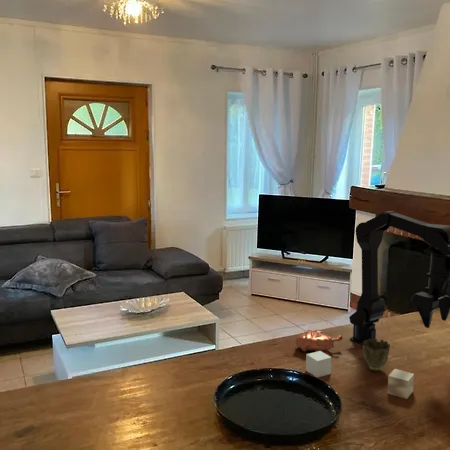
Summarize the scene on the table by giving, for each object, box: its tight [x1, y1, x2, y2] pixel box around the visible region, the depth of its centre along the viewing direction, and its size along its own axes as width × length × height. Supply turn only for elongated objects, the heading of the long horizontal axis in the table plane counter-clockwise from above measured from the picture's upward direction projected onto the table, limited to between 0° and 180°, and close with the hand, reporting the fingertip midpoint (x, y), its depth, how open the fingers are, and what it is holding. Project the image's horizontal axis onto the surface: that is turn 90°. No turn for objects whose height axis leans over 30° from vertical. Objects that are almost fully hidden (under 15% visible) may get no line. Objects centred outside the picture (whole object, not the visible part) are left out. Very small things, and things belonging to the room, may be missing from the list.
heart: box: [294, 329, 343, 357], centre depth 157 cm, size 6×12×15 cm
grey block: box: [305, 351, 333, 378], centre depth 141 cm, size 5×5×5 cm
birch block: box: [387, 368, 415, 400], centre depth 130 cm, size 5×5×5 cm
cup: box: [362, 338, 391, 372], centre depth 142 cm, size 8×7×8 cm
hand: (435, 323), depth 142 cm, fingers open, 9 cm apart
